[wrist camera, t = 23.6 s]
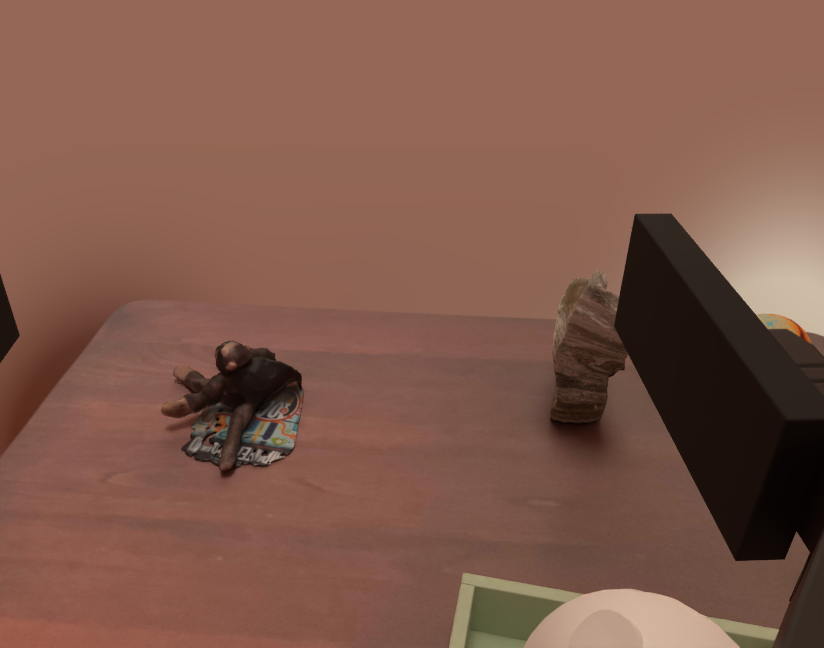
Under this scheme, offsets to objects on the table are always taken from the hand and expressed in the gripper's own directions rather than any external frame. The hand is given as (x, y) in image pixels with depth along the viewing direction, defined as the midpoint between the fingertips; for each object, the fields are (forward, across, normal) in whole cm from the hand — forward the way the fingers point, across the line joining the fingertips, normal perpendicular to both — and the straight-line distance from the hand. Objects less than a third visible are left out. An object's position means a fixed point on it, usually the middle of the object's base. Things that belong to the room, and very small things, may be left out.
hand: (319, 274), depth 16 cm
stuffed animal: (+36, -10, -32) cm, 49 cm away
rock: (+34, +18, -32) cm, 50 cm away
